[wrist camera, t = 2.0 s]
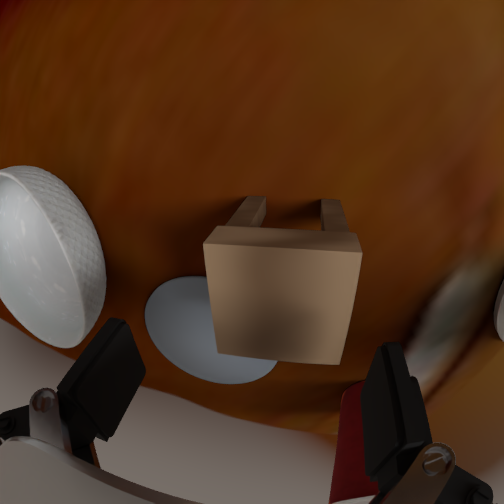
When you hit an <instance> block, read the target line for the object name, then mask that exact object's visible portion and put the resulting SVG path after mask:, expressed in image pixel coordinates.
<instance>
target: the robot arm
mask: <svg viewBox="0 0 504 504" xmlns="http://www.w3.org/2000/svg"><path fill="white" fill-rule="evenodd" d="M494 325H495V329H496V331H497V333H498V335H499V337H500V338H501V339H502V340H503V341H504V280H503V282H502V285H501V287H500V290H499V292H498V296H497V299H496V302H495V308H494ZM145 373H146V369H145V366H144V363H143V361H142V359H141V356H140V354H139V351H138V349H137V346H136V343H135V341H134V338H133V335H132V333H131V330H130V327H129V325H128V324H126V322H125V320H122V319H117V318H109V319H108V320H107V322H106V323H105V324H104V325H103V327H102V328H101V329H100V330H99V332H98V333H97V334H96V336H95V337H94V338H93V339H92V341H91V342H90V343H89V345H88V346H87V347H86V348H85V350H84V351H83V352H82V354H81V355H80V356H79V358H78V359H77V360H76V362H75V363H74V364H73V366H72V367H71V368H70V370H69V371H68V372H67V374H66V375H65V377H64V378H63V379H62V381H61V382H60V384H59V385H58V386H57V389H58V391H57V392H55V391H54V390H53V389H51V388H42V389H39V390H37V391H36V392H35V393H34V394H33V395H32V397H31V399H30V403H29V405H26V406H23V407H20V408H16V409H12V410H9V411H6V412H3V413H2V414H0V504H202V503H197V502H193V501H189V500H186V499H182V498H178V497H175V496H171V495H168V494H164V493H162V492H158V491H155V490H152V489H149V488H146V487H144V486H141V485H138V484H136V483H133V482H130V481H128V480H125V479H123V478H120V477H118V476H115V475H113V474H111V473H109V472H106V471H104V470H102V469H101V467H100V464H99V461H98V457H97V453H96V450H95V446H94V442H93V441H94V439H95V437H97V438H99V439H102V440H104V441H106V442H107V441H108V438H109V437H112V436H113V435H114V433H115V431H116V429H117V427H118V425H119V423H120V421H121V419H122V417H123V415H124V414H125V412H126V410H127V408H128V406H129V404H130V402H131V400H132V398H133V397H134V395H135V393H136V391H137V389H138V387H139V385H140V384H141V382H142V380H143V378H144V376H145ZM360 403H361V413H362V426H363V440H364V459H365V475H366V476H370V482H375V481H378V490H379V492H378V493H377V494H376V495H375V496H374V498H373V499H372V500H371V501H370V502H369V503H368V504H493V503H492V501H493V491H492V489H491V487H490V486H489V485H488V484H487V483H485V482H483V481H481V480H480V479H478V478H476V477H475V476H473V475H471V474H469V473H468V472H466V471H465V470H463V469H461V468H460V467H458V466H456V465H455V464H456V457H455V454H454V452H453V450H452V449H451V448H450V447H449V446H448V445H446V444H443V443H433V442H432V437H431V433H430V428H429V423H428V419H427V414H426V410H425V406H424V402H423V398H422V394H421V391H420V387H419V383H418V381H417V378H416V377H414V376H410V375H409V371H408V367H407V364H406V360H405V357H404V354H403V350H402V347H401V344H400V343H399V342H384V343H383V345H382V346H379V347H378V348H377V350H376V353H375V356H374V359H373V362H372V364H371V367H370V370H369V372H368V375H367V377H366V380H365V383H364V385H363V387H362V390H361V394H360Z"/></svg>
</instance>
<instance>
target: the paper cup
mask: <svg viewBox="0 0 504 504" xmlns="http://www.w3.org/2000/svg"><path fill="white" fill-rule="evenodd" d="M364 383H365V381H361V382H358V383H355V384H353V385H351V386H350V387H348V388H347V389H346V390H345V391H344V393H343V395H342V399H341V408H340V419H339V430H338V440H337V449H336V457H335V464H334V470H333V476H332V484H331V491H330V498H329V504H368V503H369V502H370V501H371V500H372V499H373V498H374V496H375V495H376V494H377V493H378V492H379V490H378V481H375V482H370V476H366V475H365V459H364V440H363V426H362V413H361V403H360V394H361V390H362V387H363V385H364Z"/></svg>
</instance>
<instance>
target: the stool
mask: <svg viewBox="0 0 504 504" xmlns="http://www.w3.org/2000/svg"><path fill="white" fill-rule="evenodd" d="M265 215H266V196H247V198H246V199H245V200H244V202H243V203H242V204H241V205H240V207H239V208H238V209H237V211H236V212H235V213H234V214H233V216H232V217H231V218H230V220H229V221H228V222H227V224H226V225H225V226H217V227H216V228H215V229H214V230H213V232H212V233H211V234H210V235H209V237H208V238H207V239H206V240H205V242H204V243H203V249H204V257H205V266H206V274H207V282H208V290H209V298H210V305H211V312H212V319H213V326H214V333H215V340H216V346H217V353H219V354H225V355H232V356H240V357H248V358H256V359H265V360H274V361H285V362H297V363H311V364H328V365H339V364H340V360H341V356H342V352H343V348H344V344H345V340H346V336H347V332H348V327H349V323H350V318H351V314H352V309H353V304H354V299H355V294H356V288H357V283H358V277H359V272H360V266H361V259H362V250H361V247H360V244H359V241H358V238H357V235H356V233H350V231H349V228H348V225H347V222H346V218H345V215H344V212H343V209H342V206H341V203H340V200H331V199H321V214H320V218H321V231H316V230H298V229H279V228H260V226H261V224H262V222H263V219H264V217H265Z"/></svg>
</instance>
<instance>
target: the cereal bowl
mask: <svg viewBox="0 0 504 504" xmlns="http://www.w3.org/2000/svg"><path fill="white" fill-rule="evenodd" d="M106 279H107V277H106V269H105V261H104V257H103V251H102V248H101V245H100V241H99V239H98V235H97V232H96V230H95V228H94V225H93V223H92V221H91V220H90V217H89V216H88V214H87V212H86V210H85V208H84V207H83V205H82V203H81V202H80V200H78V198H77V196H76V195H74V193H73V192H72V190H70V189H69V187H68V186H67V185H66V184H64V183H63V181H61V180H60V179H58V178H57V177H56V176H55V175H52V174H51V173H50V172H47V171H45V170H43V169H40V168H38V167H32V166H14V167H9V168H5V169H1V170H0V298H1V299H2V301H3V302H4V304H5V305H6V307H7V308H8V309H9V311H10V312H11V313H12V314H13V315H14V317H15V318H16V319H17V320H18V321H19V322H20V323H21V324H22V325H23V326H24V327H25V328H26V329H27V330H29V331H30V332H31V333H32V334H34V335H35V336H36V337H38V338H39V339H41V340H42V341H44V342H46V343H48V344H50V345H53V346H56V347H60V348H71V347H74V346H76V345H78V344H79V343H81V341H82V340H83V339H84V338H85V337H86V335H87V334H88V333H89V332H90V330H91V328H92V327H93V326H94V324H95V322H96V321H97V319H98V316H99V315H100V313H101V309H102V307H103V303H104V300H105V294H106Z"/></svg>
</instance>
